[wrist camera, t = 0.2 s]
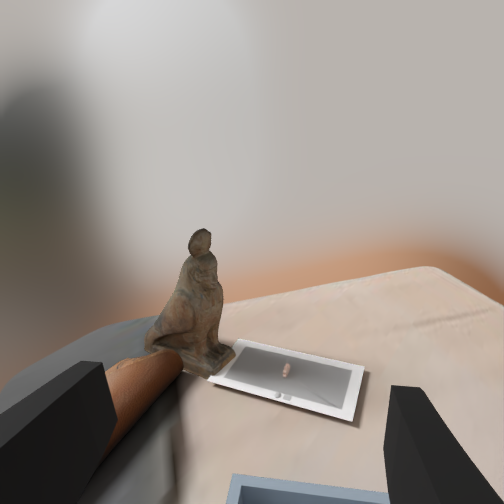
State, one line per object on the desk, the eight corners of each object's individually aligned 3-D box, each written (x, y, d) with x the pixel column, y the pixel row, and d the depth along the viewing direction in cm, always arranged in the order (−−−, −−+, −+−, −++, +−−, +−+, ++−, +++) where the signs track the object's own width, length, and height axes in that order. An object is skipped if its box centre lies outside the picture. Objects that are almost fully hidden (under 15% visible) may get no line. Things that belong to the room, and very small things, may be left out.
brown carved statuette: (238, 375, 45) (259, 243, 36) (205, 403, 41) (220, 262, 32) (171, 325, 50) (176, 201, 42) (137, 345, 47) (134, 213, 38)
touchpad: (238, 345, 47) (237, 331, 46) (363, 374, 41) (365, 358, 40) (207, 388, 40) (205, 372, 39) (351, 430, 34) (352, 412, 33)
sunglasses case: (125, 354, 45) (140, 318, 41) (171, 390, 44) (191, 357, 41) (-27, 491, 30) (-24, 454, 26) (38, 550, 29) (51, 519, 26)
